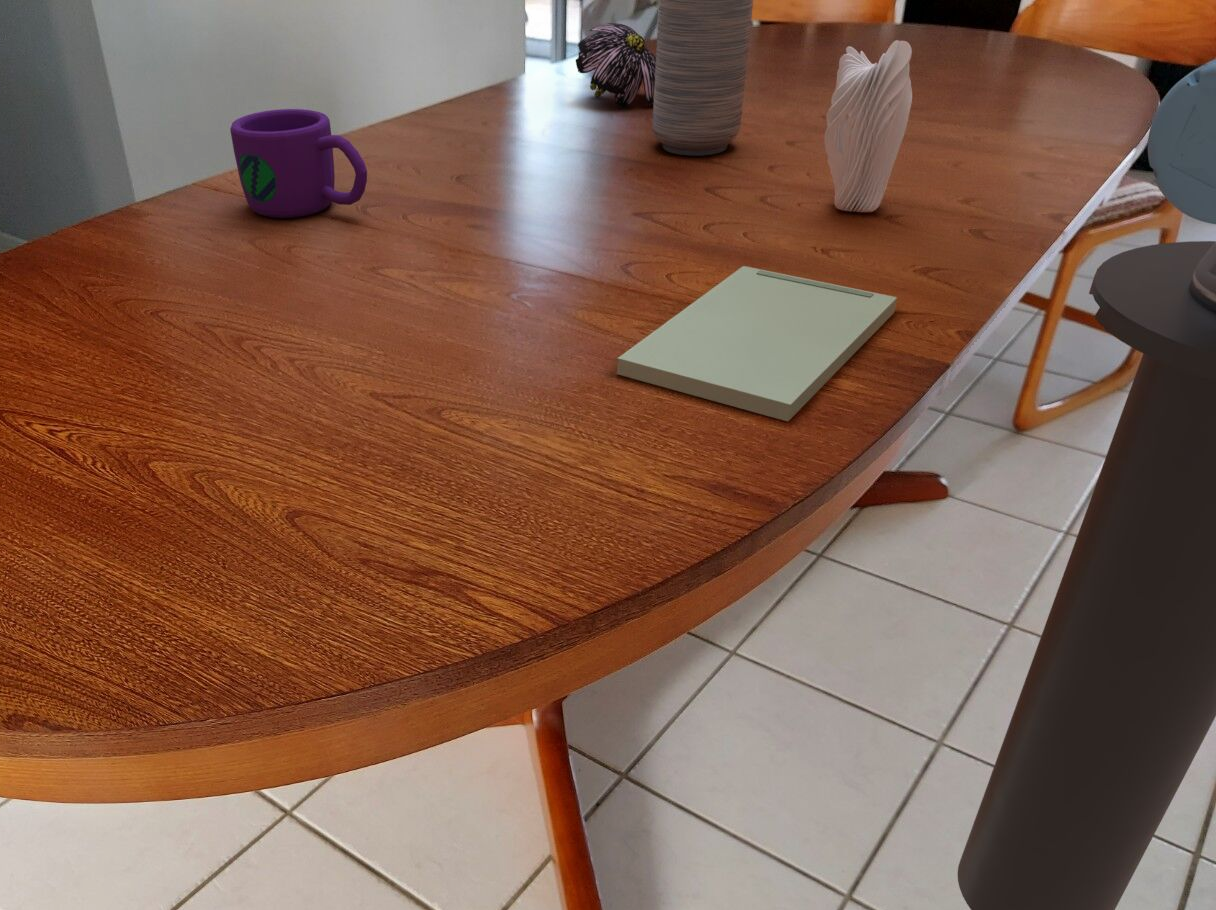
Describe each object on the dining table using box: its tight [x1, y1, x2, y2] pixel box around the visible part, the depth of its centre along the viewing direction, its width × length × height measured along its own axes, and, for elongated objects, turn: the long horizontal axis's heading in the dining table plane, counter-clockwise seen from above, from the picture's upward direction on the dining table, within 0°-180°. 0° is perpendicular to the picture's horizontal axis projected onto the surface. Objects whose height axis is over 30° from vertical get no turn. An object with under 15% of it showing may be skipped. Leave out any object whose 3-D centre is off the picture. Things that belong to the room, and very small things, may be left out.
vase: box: [651, 0, 754, 157], centre depth 133 cm, size 12×12×23 cm
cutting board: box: [616, 265, 898, 423], centre depth 90 cm, size 24×15×2 cm, turn 144°
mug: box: [230, 108, 368, 219], centre depth 120 cm, size 17×11×10 cm, turn 60°
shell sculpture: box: [823, 39, 913, 213], centre depth 112 cm, size 8×8×18 cm
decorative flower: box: [575, 22, 656, 110], centre depth 160 cm, size 14×12×15 cm
